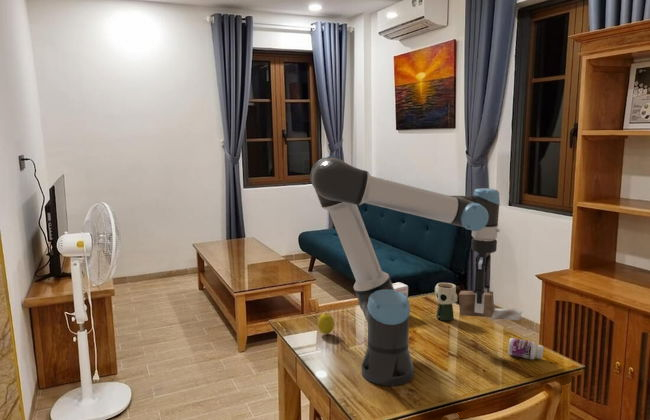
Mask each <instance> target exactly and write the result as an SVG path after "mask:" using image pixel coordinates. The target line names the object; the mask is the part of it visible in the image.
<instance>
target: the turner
mask: <svg viewBox="0 0 650 420" xmlns="http://www.w3.org/2000/svg"><path fill="white" fill-rule="evenodd" d="M473 291H474V290H460V292H459V293H458V303H459V316H462V317H463V316H464V317H465V316H466V317H480V318H482V317H484V318H491V319H492V320H510V321H520V320H521V319H522V318H521V317H522V313H523V311H522V309H515V308H496V307H495V302H494V301H495V300H494V291H488V290H487V291H484V293H485V298H484V313H483V314H482V313H476V312H474V310H475V293H473Z"/></svg>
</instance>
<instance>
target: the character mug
mask: <svg viewBox="0 0 650 420" xmlns="http://www.w3.org/2000/svg"><path fill="white" fill-rule="evenodd" d="M456 290H457V285H456V284H454V283H451V282H438V283H437V284H436V285H435V287H434V295H435V301H436V302H437V303H438V304H437V311H436V319H439V320H440V321H451V320H453V319H454V306H453V304H455V303H458V294H457V291H456Z"/></svg>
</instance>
